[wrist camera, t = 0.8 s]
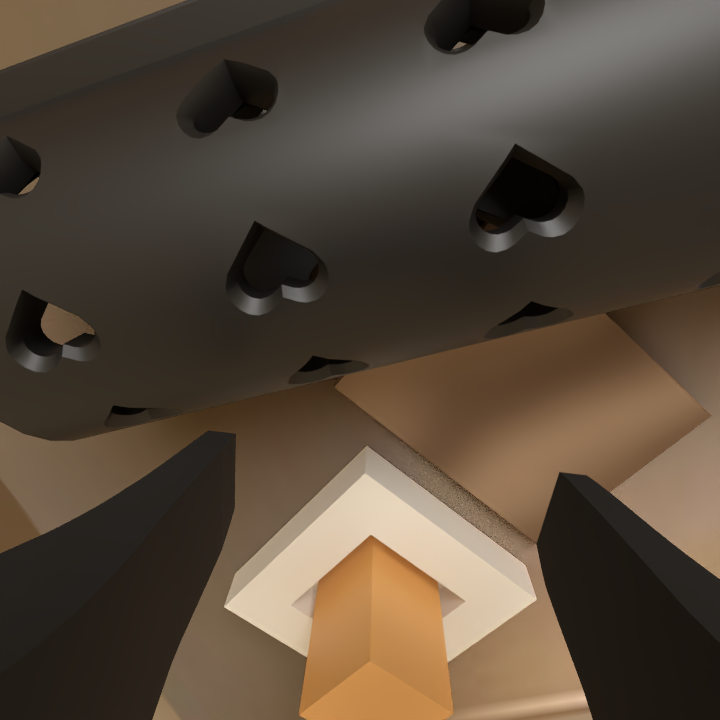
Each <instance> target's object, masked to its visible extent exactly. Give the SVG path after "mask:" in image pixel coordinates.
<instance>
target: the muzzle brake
mask: <svg viewBox="0 0 720 720" xmlns="http://www.w3.org/2000/svg"><path fill="white" fill-rule="evenodd" d="M458 42H463V43H466V45H464V46H463V47H460V48H457V49H452V48H453V47H454V46H455V45H456V44H457V43H458ZM263 110H267V111H263ZM37 177H39V180H38V182H37V184H36V185H35V187H34V189H33V190H32V191H30V192H28V193H25V194H20V195H18V194H19V193H20V192H21V191H22V190H23V189H24V188H25V187H26V186H27V185H28V184H29V183H31V182H32V181H33V180H35V179H36V178H37ZM476 217H477V218H479V219H481V220H483V221H485V222H488V223H490V224H492V225H494V226H496V227H498V228H497V229H494V230H490V231H483V230H482V229H481V227H480V226H479V225H478V223H477V220H476ZM719 285H720V0H186V1H184V2H181V3H178V4H176V5H173V6H170V7H168V8H165V9H162V10H160V11H157V12H154V13H152V14H149V15H146V16H144V17H141V18H138V19H136V20H133V21H130V22H128V23H125V24H122V25H120V26H117V27H114V28H112V29H109V30H106V31H104V32H101V33H98V34H96V35H93V36H90V37H88V38H85V39H82V40H80V41H77V42H74V43H72V44H69V45H66V46H64V47H61V48H58V49H56V50H53V51H50V52H48V53H45V54H42V55H40V56H37V57H34V58H32V59H29V60H26V61H24V62H21V63H18V64H16V65H13V66H10V67H8V68H5V69H2V70H0V422H2V423H4V424H6V425H8V426H10V427H12V428H14V429H16V430H17V431H19V432H21V433H23V434H26V435H30V436H34V437H38V438H42V439H46V440H50V441H74V440H78V439H82V438H86V437H90V436H95V435H99V434H103V433H107V432H111V431H115V430H120V429H124V428H128V427H132V426H136V425H140V424H145V423H149V422H153V421H157V420H161V419H165V418H170V417H174V416H178V415H182V414H186V413H190V412H195V411H199V410H203V409H207V408H211V407H215V406H220V405H224V404H228V403H232V402H236V401H240V400H245V399H249V398H253V397H257V396H261V395H265V394H270V393H274V392H278V391H282V390H286V389H290V388H295V387H299V386H303V385H307V384H311V383H315V382H319V381H324V380H328V379H332V378H336V377H340V376H344V375H349V374H353V373H357V372H361V371H365V370H369V369H374V368H378V367H382V366H386V365H390V364H394V363H399V362H403V361H407V360H411V359H415V358H419V357H424V356H428V355H432V354H436V353H440V352H444V351H449V350H453V349H457V348H461V347H465V346H469V345H474V344H478V343H482V342H486V341H490V340H494V339H499V338H503V337H507V336H511V335H515V334H519V333H524V332H528V331H532V330H536V329H540V328H544V327H548V326H553V325H557V324H561V323H565V322H569V321H573V320H578V319H582V318H586V317H590V316H594V315H598V314H603V313H607V312H611V311H615V310H619V309H623V308H628V307H632V306H636V305H640V304H644V303H648V302H653V301H657V300H661V299H665V298H669V297H673V296H678V295H682V294H686V293H690V292H694V291H698V290H703V289H707V288H711V287H715V286H719ZM48 303H50V304H53V305H55V306H57V307H59V308H61V309H64V310H66V311H68V312H70V313H73V314H75V315H77V316H79V317H80V318H81V319H83V320H84V321H85V322H86V323H88V324H89V325H90V326H91V327H92V328H93V329H94V330H95V335H92V334H87V333H84V334H82V335H80V336H78V337H76V338H74V339H72V340H70V341H68V342H66V343H65V344H63V345H60V344H57V343H54V342H53V341H51V340H50V339H49V338H47V336H46V335H45V334H44V333H43V331H42V328H41V318H42V316H43V314H44V312H45V309H46V307H47V305H48Z"/></svg>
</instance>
